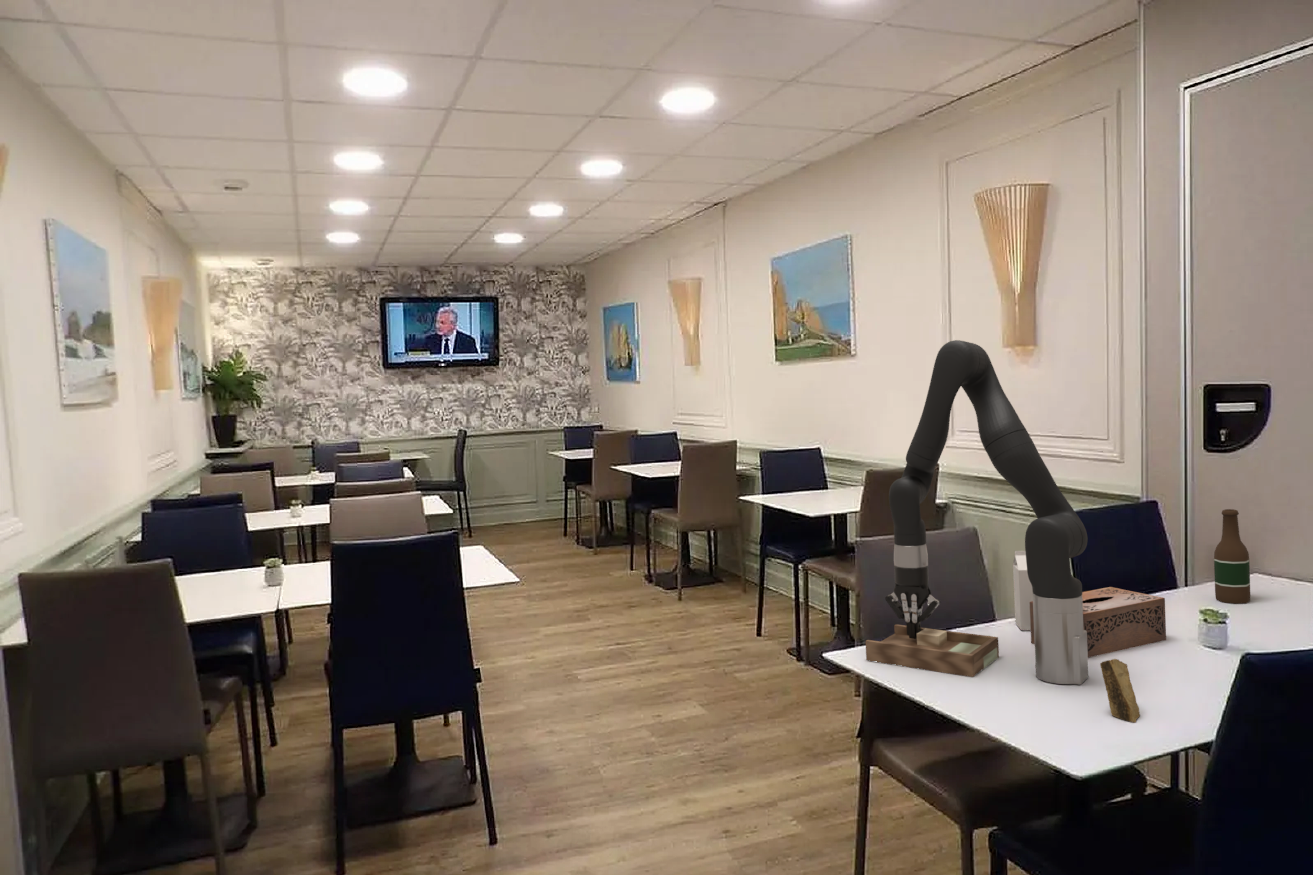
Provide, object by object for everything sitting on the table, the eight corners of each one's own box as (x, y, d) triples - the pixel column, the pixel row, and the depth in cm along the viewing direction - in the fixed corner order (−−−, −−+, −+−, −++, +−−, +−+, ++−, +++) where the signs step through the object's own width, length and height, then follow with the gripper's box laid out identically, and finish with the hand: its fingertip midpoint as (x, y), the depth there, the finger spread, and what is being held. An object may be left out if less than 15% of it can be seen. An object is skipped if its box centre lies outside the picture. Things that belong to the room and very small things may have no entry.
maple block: (947, 641, 201) (946, 631, 201) (938, 647, 197) (938, 636, 197) (925, 639, 204) (925, 628, 204) (917, 644, 200) (916, 633, 200)
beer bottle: (1208, 599, 234) (1205, 509, 233) (1230, 596, 237) (1227, 507, 236) (1235, 605, 227) (1232, 512, 226) (1258, 602, 229) (1255, 510, 228)
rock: (1111, 683, 169) (1077, 686, 164) (1139, 653, 164) (1104, 656, 160) (1153, 731, 161) (1118, 736, 156) (1183, 701, 157) (1148, 705, 152)
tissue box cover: (1082, 660, 191) (1081, 614, 191) (1031, 644, 205) (1029, 601, 204) (1166, 641, 201) (1164, 597, 201) (1111, 627, 215) (1110, 586, 214)
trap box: (998, 657, 196) (998, 637, 196) (972, 677, 184) (971, 655, 183) (896, 643, 211) (896, 624, 211) (866, 660, 199) (865, 640, 199)
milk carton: (1052, 631, 214) (1049, 553, 213) (1020, 631, 215) (1017, 553, 214) (1045, 623, 221) (1042, 547, 220) (1015, 623, 222) (1012, 548, 221)
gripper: (945, 562, 201) (948, 637, 202) (891, 558, 210) (893, 630, 211) (932, 568, 196) (935, 646, 196) (877, 563, 204) (880, 638, 205)
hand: (913, 637), depth 203 cm, fingers closed
